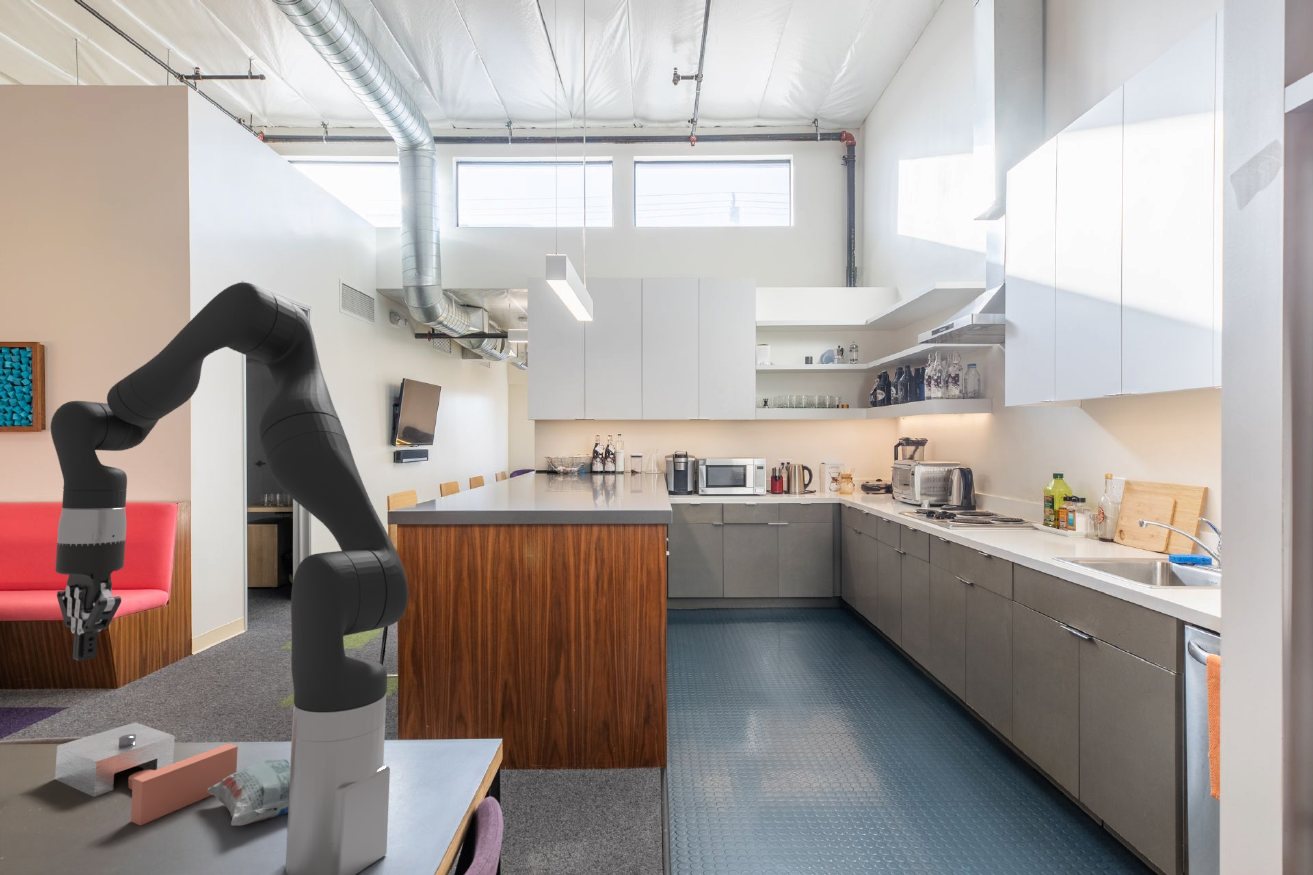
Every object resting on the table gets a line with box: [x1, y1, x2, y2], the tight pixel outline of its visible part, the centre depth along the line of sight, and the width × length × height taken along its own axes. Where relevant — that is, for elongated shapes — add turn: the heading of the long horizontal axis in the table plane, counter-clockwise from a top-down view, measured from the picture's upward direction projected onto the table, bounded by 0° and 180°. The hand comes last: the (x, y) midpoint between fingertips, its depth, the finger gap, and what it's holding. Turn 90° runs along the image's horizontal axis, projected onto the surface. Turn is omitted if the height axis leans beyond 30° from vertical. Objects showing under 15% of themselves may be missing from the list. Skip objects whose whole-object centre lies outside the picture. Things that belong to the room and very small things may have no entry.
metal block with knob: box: [54, 722, 176, 797], centre depth 88 cm, size 10×9×6 cm
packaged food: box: [207, 759, 290, 827], centre depth 79 cm, size 9×12×5 cm
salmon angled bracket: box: [127, 743, 239, 826], centre depth 83 cm, size 12×11×5 cm
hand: (84, 658), depth 93 cm, fingers closed
